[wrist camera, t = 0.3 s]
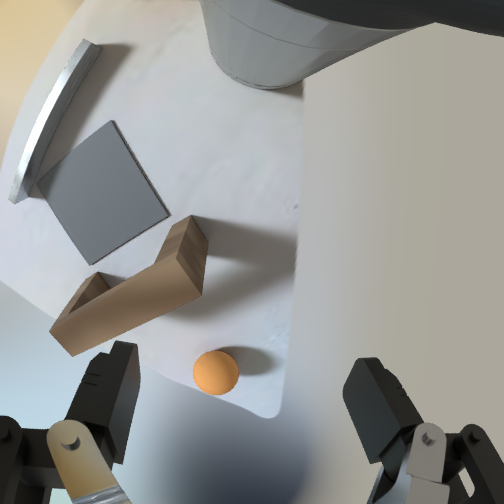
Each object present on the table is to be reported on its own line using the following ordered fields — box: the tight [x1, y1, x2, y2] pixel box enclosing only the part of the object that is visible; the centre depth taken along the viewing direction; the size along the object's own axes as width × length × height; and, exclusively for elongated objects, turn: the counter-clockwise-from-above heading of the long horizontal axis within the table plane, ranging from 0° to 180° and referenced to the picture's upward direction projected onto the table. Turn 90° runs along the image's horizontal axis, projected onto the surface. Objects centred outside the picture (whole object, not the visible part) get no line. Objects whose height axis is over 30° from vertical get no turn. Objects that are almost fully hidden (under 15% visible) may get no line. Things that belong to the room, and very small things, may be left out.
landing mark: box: [37, 120, 168, 266], centre depth 24 cm, size 10×10×1 cm
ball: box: [193, 351, 239, 395], centre depth 30 cm, size 5×5×5 cm
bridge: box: [49, 215, 208, 357], centre depth 23 cm, size 3×14×9 cm, turn 117°
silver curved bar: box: [8, 39, 103, 204], centre depth 19 cm, size 16×1×2 cm, turn 143°
